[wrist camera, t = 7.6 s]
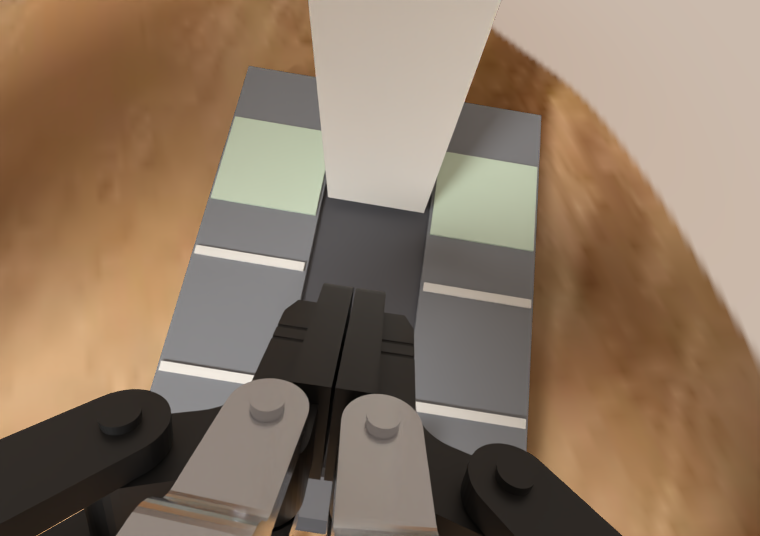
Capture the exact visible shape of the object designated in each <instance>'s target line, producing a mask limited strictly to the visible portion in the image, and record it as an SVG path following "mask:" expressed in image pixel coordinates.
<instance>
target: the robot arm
mask: <svg viewBox="0 0 760 536" xmlns="http://www.w3.org/2000/svg"><path fill="white" fill-rule="evenodd" d="M353 292H354V287H349V286H343V285H336V284H329V283H324V284H323V286H322V289H321V292H320V295H319V298H318V301H317V302H311V301H304V300H297V301H296V302H295V303H293V304H292V305H291V306H289V307H288V308H286V309H285V310H284V312H283V314H282V316H281V318H280V321H279V323H278V327H276V329H275V331H274V334H273V337H272V338H271V340H270V342H269V344H268V347H267V349H266V351H265V353H264V355H263V357H262V359H261V362H260V364H259V366H258V368H257V370H256V372H255V375H254V377H253V379H252V381H251V382H248V383H246V384H244V385H242V386H240V387H238V388H237V389H236V390H234V391H233V392H232V393H231V394H230V396H229V397H228V398H227V400H226V402H225V403H224V405H222V406H219V407H215V408H212V409H206V410H199V411H189V412H180V413H171V408H170V405H169V403H168V402H167V400H166V399H165V398H164V397H162V396H161V395H159V394H157V393H155V392H152V391H148V390H140V389H131V390H123V391H117V392H114V393H110V394H107V395H105V396H102V397H100V398H97V399H95V400H92V401H90V402H88V403H85V404H83V405H81V406H78V407H76V408H73V409H71V410H69V411H66V412H64V413H62V414H59V415H57V416H55V417H52V418H50V419H47V420H45V421H43V422H40V423H38V424H36V425H33V426H31V427H28V428H26V429H24V430H21V431H19V432H17V433H14V434H12V435H10V436H7V437H5V438H2V439H0V536H36V535H38V534H40V533H42V532H43V531H45V530H47V529H49V528H50V527H52V526H54V525H56V524H57V523H59V522H61V521H63V520H64V519H66V518H68V517H70V516H71V515H73V514H75V513H77V512H78V511H80V510H82V509H84V510H82V511H80V512H79V513H77V514H75V515H73V516H72V517H70V518H68V519H66V520H65V521H63V522H61V523H59V524H58V525H56V526H54V527H52V528H51V529H49V530H47V531H45V532H44V533H42V534H40V535H38V536H293V534H294V531H295V528H296V525H297V522H298V518H299V511H300V508H301V506H302V504H303V501H304V497H305V492H306V488H307V484H308V479H309V478H310V479H317V480H320V479H321V474H322V469H323V464H324V459H325V454H326V449H327V444H328V451H327V459H326V467H325V474H324V480H325V481H332V489H331V496H330V504H329V511H328V518H327V526H326V536H622V535H621V534H620V533H619V532H618V531H616V530H615V529H614V528H613V527H612V526H611V525H610V524H609V523H608V522H606V521H605V520H604V519H603V518H602V517H601V516H600V515H599V514H598V513H597V512H595V511H594V510H593V509H592V508H591V507H590V506H589V505H588V504H587V503H586V502H584V501H583V500H582V499H581V498H580V497H579V496H578V495H577V494H576V493H575V492H573V491H572V490H571V489H570V488H569V487H568V486H567V485H566V484H565V483H564V482H562V481H561V480H560V479H559V478H558V477H557V476H556V475H555V474H554V473H553V472H551V471H550V470H549V469H548V468H547V467H546V466H545V465H544V464H543V463H542V462H540V461H539V460H538V459H537V458H536V457H534V456H533V455H531V454H530V453H528V452H526V451H524V450H522V449H520V448H518V447H515V446H512V445H508V444H502V443H492V444H487V445H484V446H482V447H480V448H478V449H477V450H476V451H475V452H474V453H473V454H472V455H470V454H468V453H465V452H463V451H461V450H458V449H456V448H453V447H451V446H449V445H447V444H445V443H443V442H441V441H440V440H438V439H437V438H435V437H434V436H433V435H432V434H430V433H429V432H428V431H427V430H426V428H425V427H424V426H423V424H422V421H421V419H420V417H419V415H418V414H417V412H416V394H415V359H414V356H415V355H414V329H413V327H412V326H411V324H410V323H409V321H408V320H407V318H406V316H405V315H398V314H392V313H385V312H384V310H385V298H386V292H383V291H376V290H370V289H363V288H357V287H356V291H355V296H354V301H353V306H352V300H353ZM351 307H352V311H351ZM329 434H330V435H329ZM328 439H329V443H328Z"/></svg>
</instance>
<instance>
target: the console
mask: <svg viewBox="0 0 760 536" xmlns="http://www.w3.org/2000/svg"><path fill="white" fill-rule="evenodd" d="M540 134H541V115H536V114H530V113H524V112H518V111H512V110H506V109H500V108H495V107H489V106H483V105H477V104H471V103H465V102H464V104H463V107H462V110H461V113H460V115H459V118H458V121H457V124H456V126H455V129H454V132H453V135H452V137H451V140H450V143H449V145H448V148H447V151H446V154H445V156H444V159H443V162H442V165H441V167H440V170H439V173H438V176H437V178H436V181H435V184H434V187H433V189H432V192H431V195H430V197H429V200H428V203H427V206H426V208H425V211H424V213H420V212H414V211H408V210H402V209H396V208H390V207H384V206H378V205H372V204H366V203H360V202H354V201H348V200H342V199H336V198H330V197H328V191H327V181H326V171H325V162H324V152H323V142H322V132H321V122H320V112H319V102H318V93H317V83H316V77H312V76H306V75H300V74H294V73H288V72H282V71H276V70H270V69H264V68H258V67H253V66H249V67H248V71H247V74H246V77H245V80H244V84H243V87H242V90H241V94H240V97H239V100H238V104H237V107H236V110H235V113H234V117H233V120H232V123H231V127H230V130H229V133H228V136H227V140H226V143H225V146H224V150H223V153H222V156H221V159H220V163H219V166H218V169H217V173H216V176H215V179H214V182H213V186H212V189H211V192H210V196H209V199H208V202H207V205H206V209H205V212H204V215H203V219H202V222H201V225H200V228H199V232H198V235H197V238H196V242H195V245H194V248H193V251H192V255H191V258H190V261H189V265H188V268H187V271H186V274H185V278H184V281H183V284H182V288H181V291H180V294H179V297H178V301H177V304H176V307H175V311H174V314H173V317H172V320H171V324H170V327H169V330H168V334H167V337H166V340H165V343H164V347H163V350H162V353H161V357H160V360H159V363H158V366H157V370H156V373H155V376H154V380H153V383H152V386H151V389H150V391H152V392H155V393H157V394H159V395H161V396H162V397H164V398H165V399H166V400H167V402H168V403H169V405H170V408H171V413H180V412H189V411H199V410H206V409H212V408H215V407H219V406H222V405H224V403H225V402H226V400H227V398H228V397H229V396H230V394H231V393H232V392H233V391H234V390H236V389H237V388H238V387H240V386H242V385H244V384H246V383H248V382H251V381H252V379H253V377H254V375H255V372H256V370H257V368H258V366H259V364H260V362H261V359H262V357H263V355H264V353H265V351H266V349H267V347H268V344H269V342H270V340H271V338H272V337H273V334H274V331H275V329H276V327H278V323H279V321H280V318H281V316H282V314H283V312H284V310H285V309H286V308H288V307H289V306H291V305H292V304H293V303H295V302H296V301H297V300H304V301H311V302H317V301H318V298H319V295H320V292H321V289H322V286H323V284H324V283H329V284H336V285H343V286H349V287H354V292H353V300H352V306H353V301H354V296H355V291H356V287H357V288H363V289H370V290H376V291H383V292H386V298H385V310H384V312H385V313H392V314H398V315H405V316H406V318H407V320H408V321H409V323H410V324H411V326H412V327H413V329H414V355H415V356H414V359H415V394H416V412H417V414H418V415H419V417H420V419H421V421H422V424H423V426H424V427H425V428H426V430H427V431H428V432H429V433H430V434H432V435H433V436H434V437H435V438H437V439H438V440H440V441H441V442H443V443H445V444H447V445H449V446H451V447H453V448H456V449H458V450H461V451H463V452H465V453H468V454H470V455H472V454H473V453H474V452H475V451H476V450H477V449H478V448H480V447H482V446H484V445H487V444H492V443H502V444H508V445H512V446H515V447H518V448H520V449H522V450H524V451H527V428H528V406H529V383H530V360H531V338H532V315H533V293H534V270H535V247H536V225H537V202H538V180H539V157H540ZM351 311H352V307H351ZM329 435H330V434H329ZM328 443H329V439H328ZM327 451H328V444H327V449H326V454H325V459H324V464H323V469H322V474H321V479H320V480H317V479H310V478H309V479H308V484H307V488H306V492H305V497H304V501H303V504H302V506H301V508H300V511H299V518H298V522H297V525H296V528H295V530H300V531H307V532H313V533H320V534H326V526H327V518H328V511H329V504H330V496H331V489H332V481H325V480H324V474H325V467H326V459H327Z"/></svg>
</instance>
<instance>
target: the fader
mask: <svg viewBox="0 0 760 536" xmlns="http://www.w3.org/2000/svg"><path fill="white" fill-rule="evenodd" d="M500 3H501V0H308V4H309V14H310V24H311V34H312V43H313V53H314V63H315V73H316V83H317V93H318V102H319V112H320V122H321V132H322V142H323V152H324V162H325V171H326V181H327V191H328V197H330V198H336V199H342V200H348V201H354V202H360V203H366V204H372V205H378V206H384V207H390V208H396V209H402V210H408V211H414V212H420V213H424V211H425V208H426V206H427V203H428V200H429V197H430V195H431V192H432V189H433V187H434V184H435V181H436V178H437V176H438V173H439V170H440V167H441V165H442V162H443V159H444V156H445V154H446V151H447V148H448V145H449V143H450V140H451V137H452V135H453V132H454V129H455V126H456V124H457V121H458V118H459V115H460V113H461V110H462V107H463V104H464V102H465V99H466V96H467V93H468V91H469V88H470V85H471V83H472V80H473V77H474V74H475V72H476V69H477V66H478V63H479V61H480V58H481V55H482V52H483V50H484V47H485V44H486V41H487V39H488V36H489V33H490V31H491V28H492V25H493V22H494V20H495V17H496V14H497V11H498V9H499V6H500Z"/></svg>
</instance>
